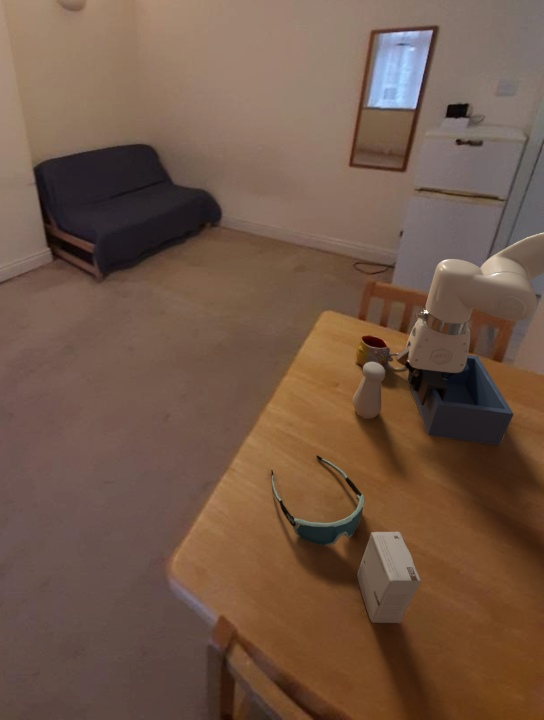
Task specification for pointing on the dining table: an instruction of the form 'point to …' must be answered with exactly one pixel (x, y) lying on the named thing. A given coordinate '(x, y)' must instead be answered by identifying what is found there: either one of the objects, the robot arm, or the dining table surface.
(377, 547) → the cosmetic box
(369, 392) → the salt shaker
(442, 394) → the black channel
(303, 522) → the sunglasses
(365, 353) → the mug
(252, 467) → the dining table surface
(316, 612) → the dining table surface
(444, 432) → the box
